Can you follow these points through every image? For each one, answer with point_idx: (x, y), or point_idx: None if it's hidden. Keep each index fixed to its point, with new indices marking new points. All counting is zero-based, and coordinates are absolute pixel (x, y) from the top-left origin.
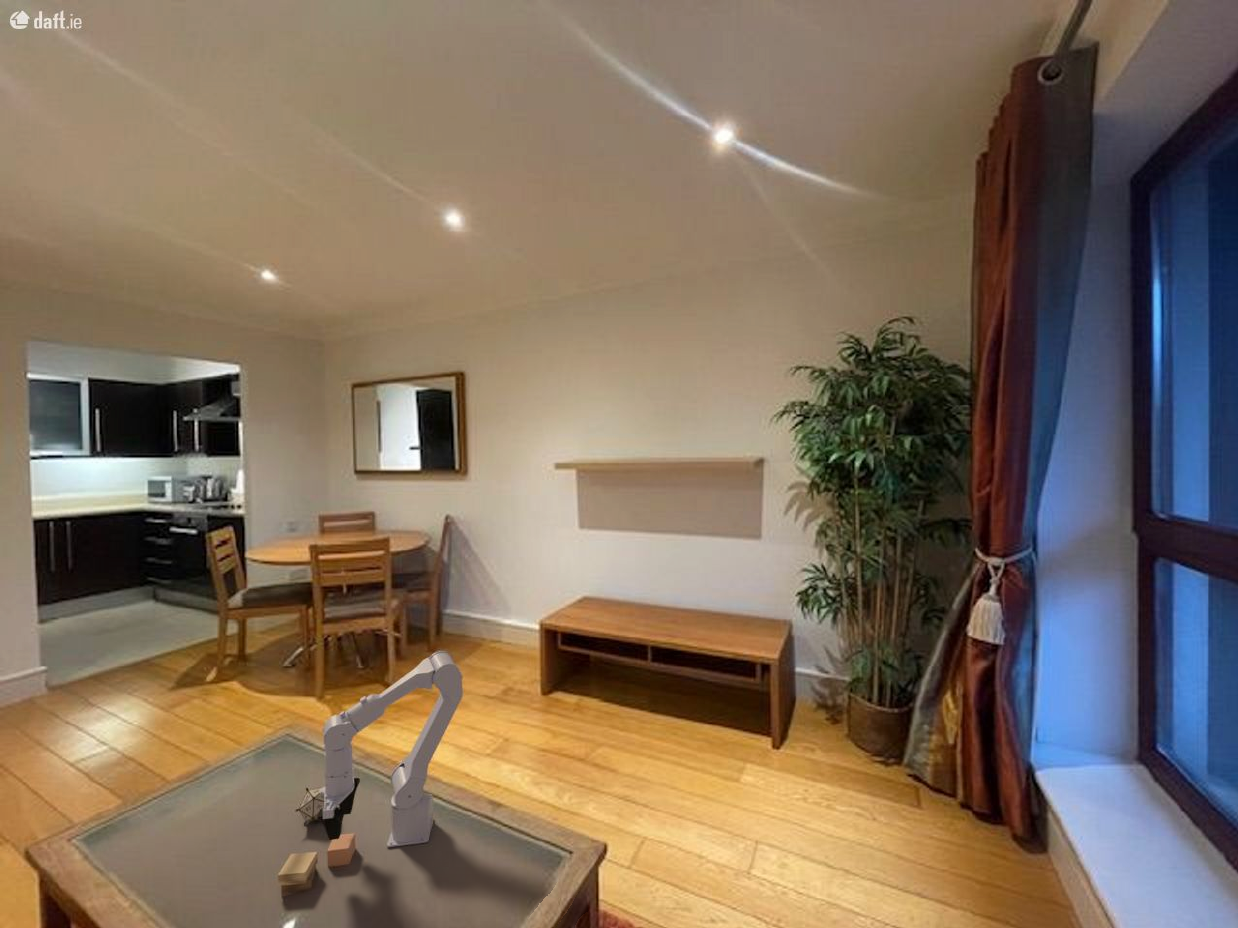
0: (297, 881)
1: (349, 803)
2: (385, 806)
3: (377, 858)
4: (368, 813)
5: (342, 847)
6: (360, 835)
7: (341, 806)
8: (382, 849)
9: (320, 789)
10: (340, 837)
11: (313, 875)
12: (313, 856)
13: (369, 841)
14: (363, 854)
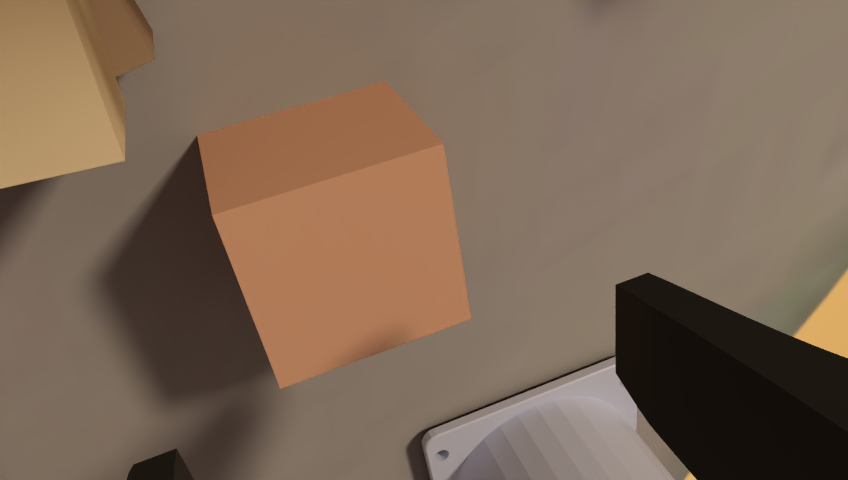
0: None
1: (719, 469)
2: (798, 193)
3: (327, 433)
4: (765, 109)
5: (283, 329)
6: (545, 190)
7: (701, 369)
8: (406, 412)
9: None
10: (412, 227)
11: None
12: (29, 166)
13: (480, 291)
14: None
